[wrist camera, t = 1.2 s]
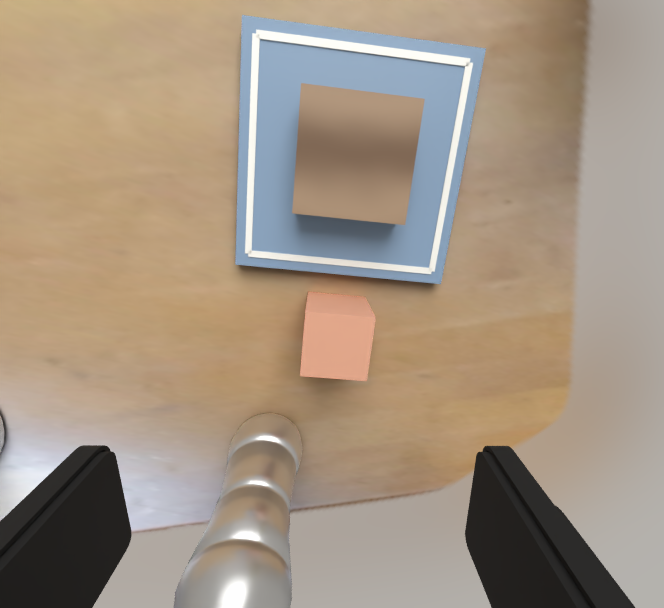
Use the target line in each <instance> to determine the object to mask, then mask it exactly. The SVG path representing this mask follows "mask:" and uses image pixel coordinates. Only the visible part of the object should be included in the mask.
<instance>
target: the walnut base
mask: <svg viewBox="0 0 664 608" xmlns="http://www.w3.org/2000/svg"><path fill="white" fill-rule="evenodd" d="M424 101H425V99H423V98H415V97H407V96H399V95H391V94H383V93H376V92H368V91H360V90H352V89H344V88H336V87H328V86H321V85H313V84H305V83H301V91H300V105H299V120H298V135H297V149H296V164H295V179H294V193H293V208H292V213H294V214H303V215H313V216H322V217H332V218H341V219H351V220H360V221H370V222H380V223H389V224H399V225H405V223H406V217H407V210H408V204H409V197H410V191H411V184H412V178H413V172H414V165H415V159H416V152H417V146H418V139H419V133H420V127H421V120H422V114H423V107H424Z"/></svg>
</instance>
